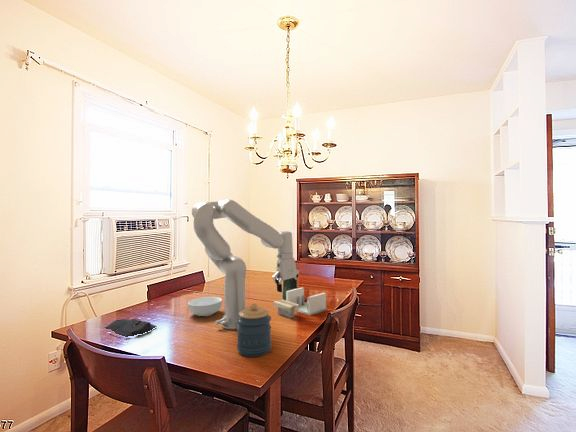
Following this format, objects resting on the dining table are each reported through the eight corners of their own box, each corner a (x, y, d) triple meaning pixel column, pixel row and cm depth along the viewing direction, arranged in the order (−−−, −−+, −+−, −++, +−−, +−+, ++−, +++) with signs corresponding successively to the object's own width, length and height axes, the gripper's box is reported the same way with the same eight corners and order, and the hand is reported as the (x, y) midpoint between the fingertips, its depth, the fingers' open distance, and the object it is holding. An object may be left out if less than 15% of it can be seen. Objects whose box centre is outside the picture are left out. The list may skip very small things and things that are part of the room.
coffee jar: (292, 302, 179) (291, 270, 179) (280, 300, 183) (280, 269, 183) (300, 298, 188) (299, 267, 188) (288, 296, 192) (288, 266, 192)
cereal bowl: (211, 307, 173) (211, 294, 173) (228, 313, 162) (228, 300, 161) (182, 314, 161) (182, 301, 161) (198, 322, 150) (198, 307, 150)
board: (290, 312, 151) (290, 307, 151) (273, 306, 161) (273, 301, 161) (299, 309, 155) (299, 304, 155) (282, 304, 165) (282, 299, 165)
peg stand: (310, 315, 157) (309, 297, 157) (286, 307, 170) (286, 291, 170) (326, 310, 165) (325, 293, 164) (302, 303, 178) (302, 287, 178)
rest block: (289, 317, 154) (289, 310, 154) (278, 313, 161) (278, 306, 160) (294, 316, 156) (294, 309, 156) (282, 312, 163) (282, 305, 162)
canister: (230, 354, 115) (229, 306, 115) (247, 340, 127) (246, 297, 127) (262, 360, 111) (261, 310, 110) (276, 345, 123) (276, 300, 122)
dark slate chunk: (128, 322, 153) (127, 312, 153) (159, 329, 143) (159, 318, 143) (96, 333, 139) (96, 322, 139) (129, 341, 129) (129, 330, 129)
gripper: (277, 259, 149) (278, 294, 150) (303, 254, 161) (304, 287, 161) (267, 257, 155) (268, 292, 155) (293, 253, 166) (294, 285, 167)
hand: (286, 289), depth 158 cm, fingers open, 9 cm apart
